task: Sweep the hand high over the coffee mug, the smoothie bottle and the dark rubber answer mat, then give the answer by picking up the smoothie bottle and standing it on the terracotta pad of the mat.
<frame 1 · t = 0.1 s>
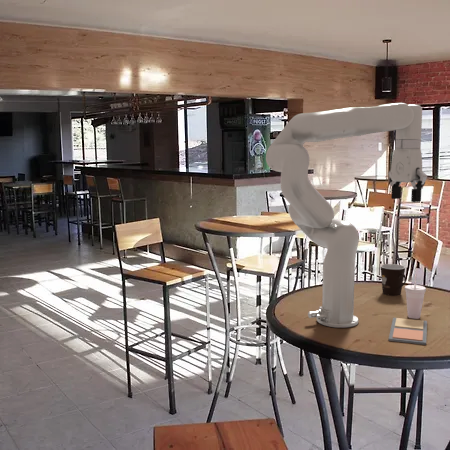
hand: (405, 200, 182), 37 cm above the table, tool pointing down, fingers open, 9 cm apart
smoothie: (413, 317, 183), on the table
coffee mug: (392, 295, 209), on the table
answer mat: (408, 331, 170), on the table
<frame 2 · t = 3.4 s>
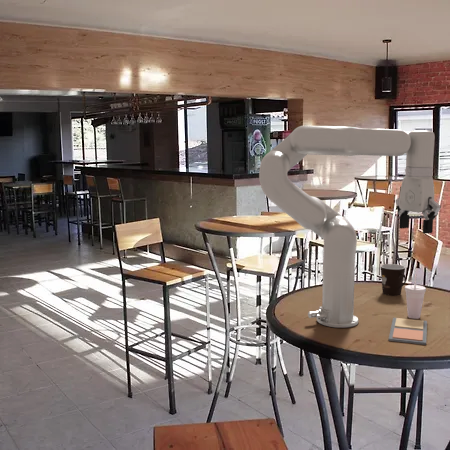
hand: (415, 230, 172), 29 cm above the table, tool pointing down, fingers open, 9 cm apart
nothing on the table moved.
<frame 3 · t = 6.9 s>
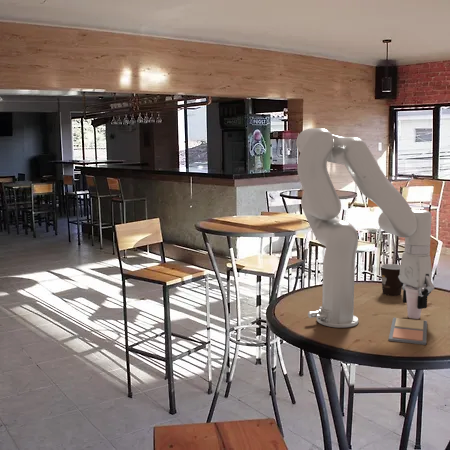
hand: (414, 304, 182), 4 cm above the table, tool pointing down, fingers closed on smoothie, 6 cm apart
smoothie: (413, 317, 183), on the table, touching gripper
everything else where it was.
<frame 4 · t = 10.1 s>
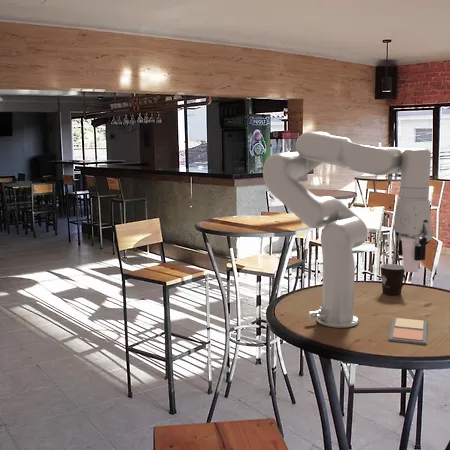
hand: (411, 257, 161), 23 cm above the table, tool pointing down, fingers closed on smoothie, 6 cm apart
smoothie: (410, 271, 162), point 19 cm above the table, touching gripper
everything else where it was.
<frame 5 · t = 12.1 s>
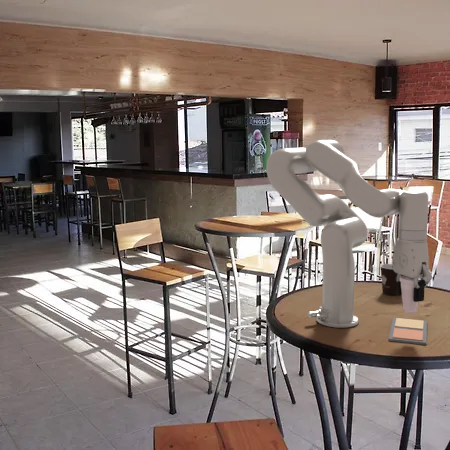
hand: (410, 297, 163), 12 cm above the table, tool pointing down, fingers closed on smoothie, 6 cm apart
smoothie: (410, 311, 164), point 8 cm above the table, touching gripper
everything else where it was.
when the fingers open (6 cm above the table, at t = 13.8 s): smoothie stays where it is, resting on answer mat.
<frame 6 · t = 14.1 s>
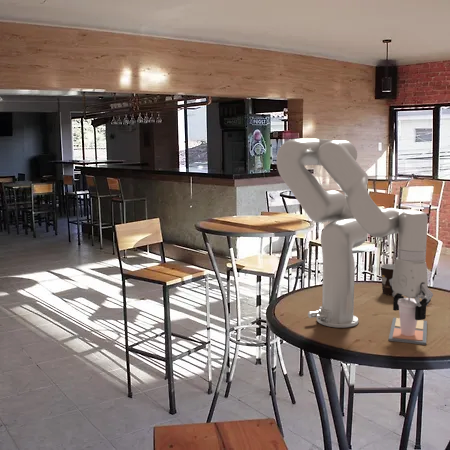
hand: (408, 314, 164), 7 cm above the table, tool pointing down, fingers open, 9 cm apart
smoothie: (407, 334, 165), point 1 cm above the table, touching answer mat
everything else where it was.
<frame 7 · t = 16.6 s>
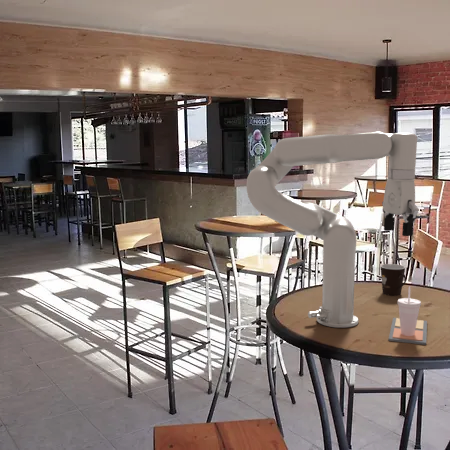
hand: (397, 233, 172), 28 cm above the table, tool pointing down, fingers open, 9 cm apart
nothing on the table moved.
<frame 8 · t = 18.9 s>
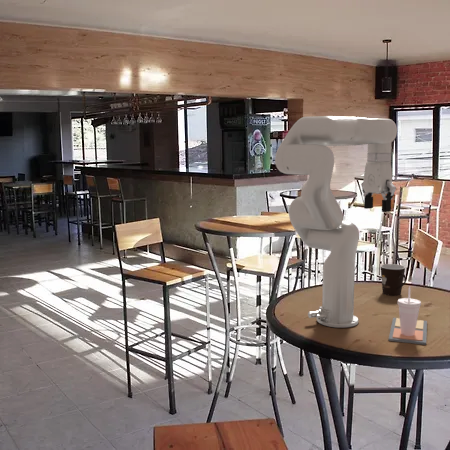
hand: (377, 210, 193), 32 cm above the table, tool pointing down, fingers open, 9 cm apart
nothing on the table moved.
at the end: smoothie inside the target area on the answer mat (0.1 cm from its centre), point 0.7 cm above the answer mat's base; smoothie tilted 0°; the gripper is holding nothing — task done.
